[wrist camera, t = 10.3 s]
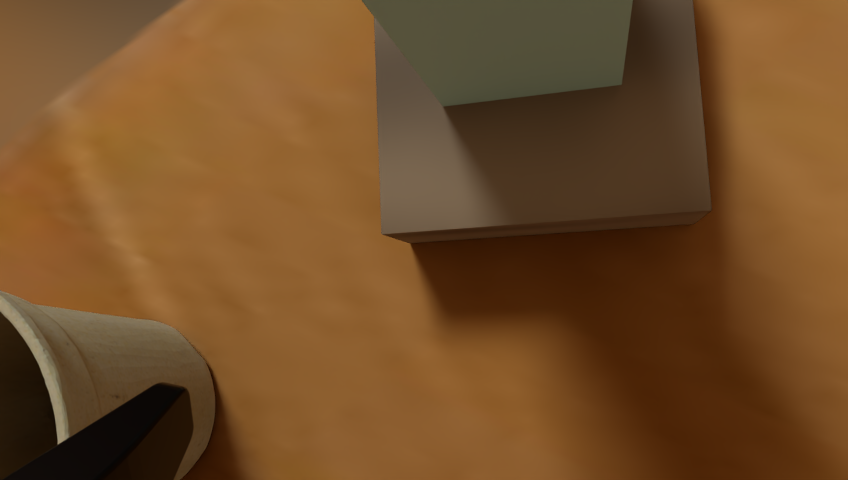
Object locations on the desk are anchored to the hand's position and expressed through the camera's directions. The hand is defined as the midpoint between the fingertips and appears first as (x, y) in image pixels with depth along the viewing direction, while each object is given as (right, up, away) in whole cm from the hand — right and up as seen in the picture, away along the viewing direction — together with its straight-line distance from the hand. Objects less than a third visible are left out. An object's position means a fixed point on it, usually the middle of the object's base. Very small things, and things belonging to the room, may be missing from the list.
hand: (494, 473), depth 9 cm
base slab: (+3, +8, +12) cm, 15 cm away
